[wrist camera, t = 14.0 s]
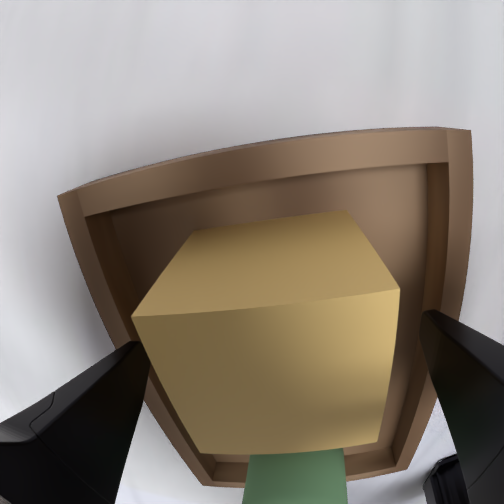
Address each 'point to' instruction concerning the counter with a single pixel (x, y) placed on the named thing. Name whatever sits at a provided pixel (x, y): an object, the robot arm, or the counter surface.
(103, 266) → the serving tray
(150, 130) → the counter surface
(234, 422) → the cheddar cube
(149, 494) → the counter surface
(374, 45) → the counter surface
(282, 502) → the cucumber chunk
